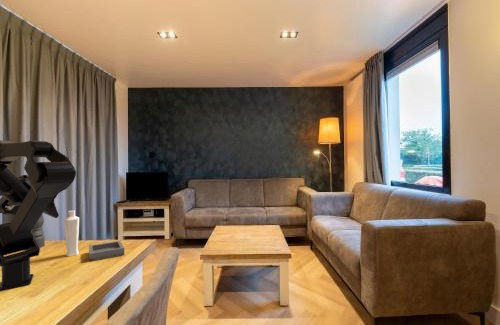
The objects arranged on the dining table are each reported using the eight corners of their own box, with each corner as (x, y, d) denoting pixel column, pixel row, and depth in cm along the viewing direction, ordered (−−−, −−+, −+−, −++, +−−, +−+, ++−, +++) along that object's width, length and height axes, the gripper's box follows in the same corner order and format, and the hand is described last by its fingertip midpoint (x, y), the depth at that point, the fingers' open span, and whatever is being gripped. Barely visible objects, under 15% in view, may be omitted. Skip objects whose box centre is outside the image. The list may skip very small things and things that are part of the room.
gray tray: (124, 255, 92) (124, 247, 92) (90, 261, 86) (90, 253, 86) (120, 247, 100) (120, 240, 100) (88, 252, 95) (88, 245, 95)
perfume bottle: (66, 253, 94) (65, 210, 94) (80, 251, 96) (80, 209, 96) (62, 257, 90) (61, 212, 90) (77, 255, 92) (76, 211, 91)
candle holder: (41, 248, 100) (40, 180, 100) (20, 250, 98) (19, 181, 97) (46, 243, 106) (45, 179, 105) (27, 245, 103) (26, 180, 103)
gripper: (51, 160, 80) (84, 196, 89) (4, 168, 84) (40, 202, 94) (24, 186, 72) (63, 223, 81) (-28, 194, 76) (15, 228, 85)
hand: (45, 218), depth 85 cm, fingers open, 9 cm apart
